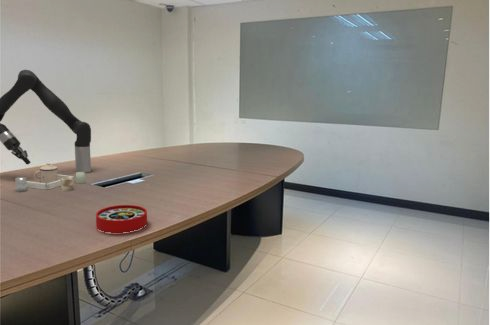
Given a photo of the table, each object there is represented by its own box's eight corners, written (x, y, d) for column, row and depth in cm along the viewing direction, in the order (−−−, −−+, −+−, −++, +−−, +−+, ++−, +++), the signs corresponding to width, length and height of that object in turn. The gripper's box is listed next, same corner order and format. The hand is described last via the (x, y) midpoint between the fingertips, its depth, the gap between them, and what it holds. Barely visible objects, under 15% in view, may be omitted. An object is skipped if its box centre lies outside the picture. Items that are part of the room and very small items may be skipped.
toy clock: (136, 202, 163) (154, 215, 147) (136, 214, 164) (154, 228, 148) (89, 209, 150) (104, 224, 135) (90, 222, 152) (104, 239, 136)
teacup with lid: (59, 180, 215) (57, 161, 212) (57, 184, 206) (56, 164, 204) (36, 181, 210) (34, 162, 208) (33, 185, 202) (32, 165, 200)
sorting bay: (21, 186, 199) (20, 181, 199) (50, 178, 219) (50, 173, 218) (47, 189, 195) (46, 184, 194) (74, 181, 215) (74, 176, 214)
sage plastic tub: (85, 181, 216) (85, 171, 215) (85, 183, 211) (84, 173, 210) (76, 181, 214) (75, 172, 213) (75, 183, 209) (75, 173, 208)
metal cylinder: (28, 189, 195) (27, 176, 193) (26, 191, 190) (25, 178, 189) (17, 189, 193) (16, 177, 192) (15, 192, 188) (14, 179, 187)
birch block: (70, 187, 201) (70, 177, 200) (73, 189, 197) (72, 179, 196) (61, 189, 198) (60, 178, 197) (63, 191, 194) (63, 180, 193)
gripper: (10, 145, 216) (29, 167, 217) (-3, 143, 203) (17, 167, 204) (20, 137, 216) (39, 159, 217) (8, 135, 203) (28, 159, 204)
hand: (28, 163), depth 210 cm, fingers closed
